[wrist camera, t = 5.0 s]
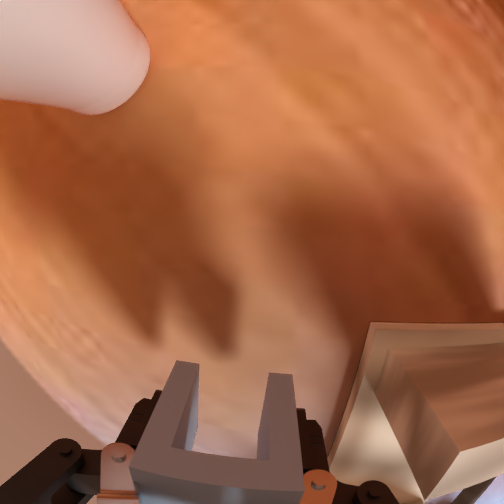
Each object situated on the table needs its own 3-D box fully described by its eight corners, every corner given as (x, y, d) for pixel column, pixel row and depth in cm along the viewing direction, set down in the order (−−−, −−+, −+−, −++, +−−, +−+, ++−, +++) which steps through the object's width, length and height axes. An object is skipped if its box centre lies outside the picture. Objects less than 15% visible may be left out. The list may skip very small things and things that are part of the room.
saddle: (176, 360, 13) (128, 466, 7) (292, 374, 13) (304, 491, 7) (178, 423, 14) (145, 521, 8) (278, 436, 14) (280, 540, 8)
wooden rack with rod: (370, 321, 16) (450, 436, 7) (514, 322, 16) (597, 381, 7) (297, 525, 20) (302, 601, 12) (410, 510, 20) (432, 573, 11)
